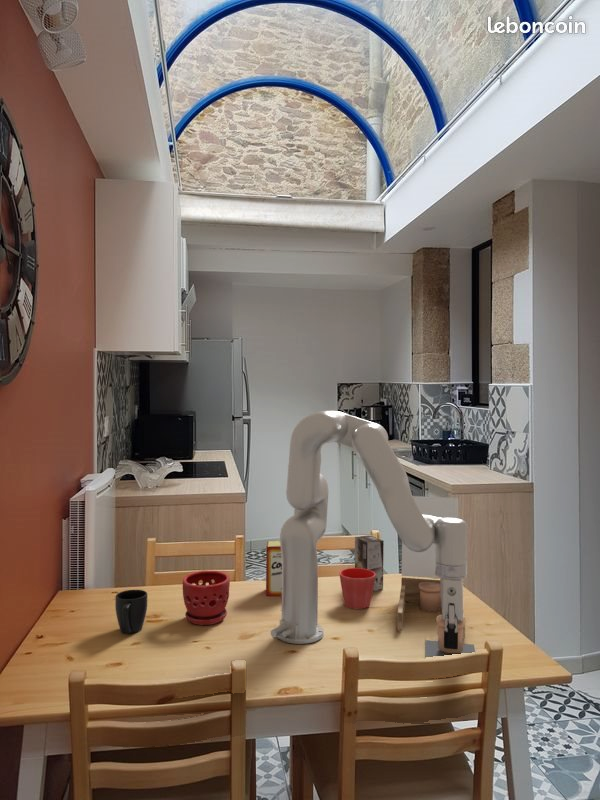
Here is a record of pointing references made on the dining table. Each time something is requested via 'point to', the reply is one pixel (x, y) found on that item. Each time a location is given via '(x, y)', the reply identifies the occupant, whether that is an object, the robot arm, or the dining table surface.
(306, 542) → the robot arm
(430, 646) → the rubber mat
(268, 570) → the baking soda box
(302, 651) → the dining table surface
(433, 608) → the pot
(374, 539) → the coffee box
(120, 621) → the mug
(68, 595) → the dining table surface
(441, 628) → the small pot
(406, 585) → the wooden open tray
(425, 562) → the lid
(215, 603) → the plant pot
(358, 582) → the flower pot
